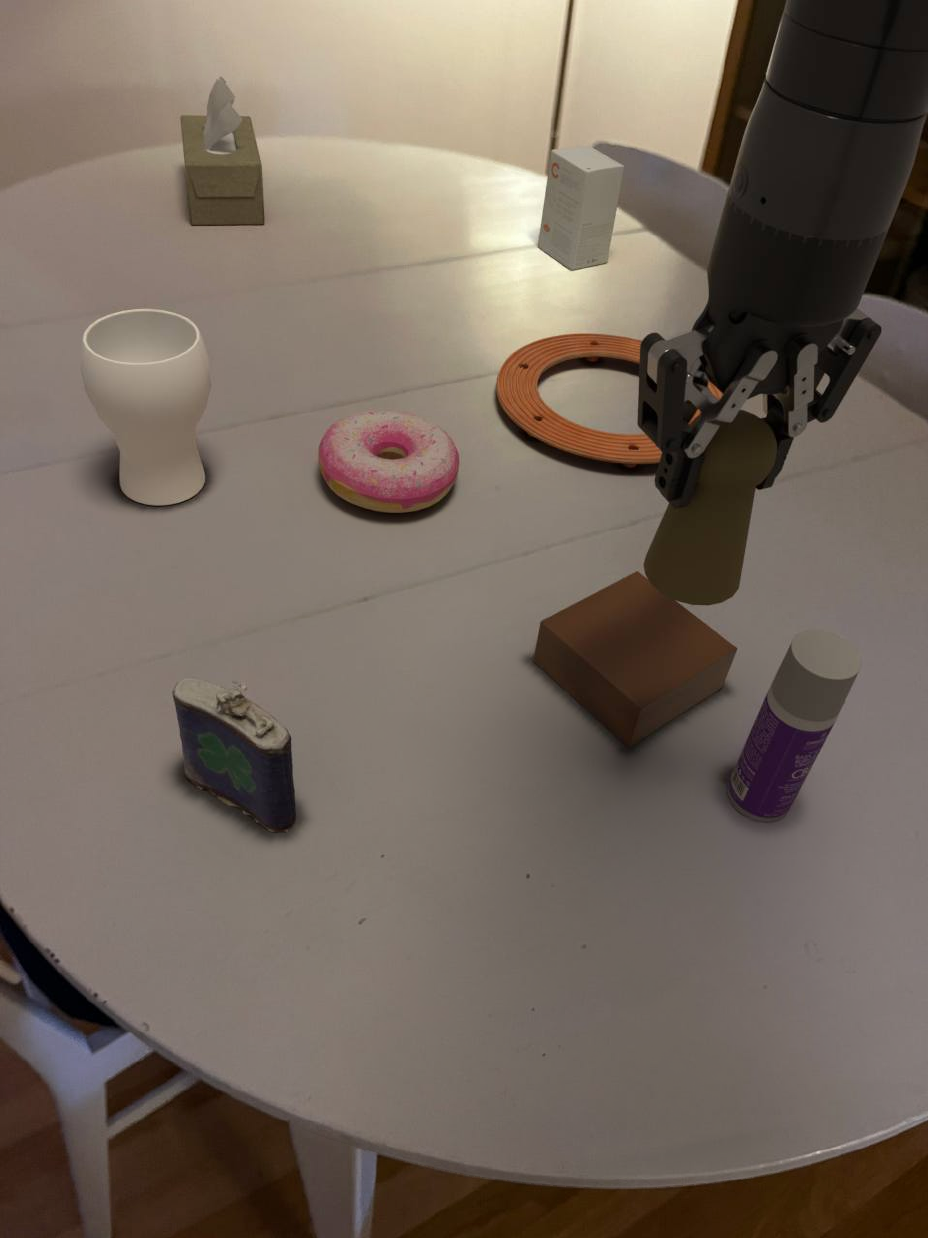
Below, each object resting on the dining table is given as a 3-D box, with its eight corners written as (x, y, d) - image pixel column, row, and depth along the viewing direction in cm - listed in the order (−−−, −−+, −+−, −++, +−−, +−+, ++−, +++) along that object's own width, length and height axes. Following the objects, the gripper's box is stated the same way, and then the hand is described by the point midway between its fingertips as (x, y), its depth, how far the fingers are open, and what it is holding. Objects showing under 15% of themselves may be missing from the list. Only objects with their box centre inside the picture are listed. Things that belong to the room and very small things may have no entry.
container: (777, 833, 73) (850, 692, 62) (717, 801, 74) (778, 658, 64) (799, 790, 76) (872, 649, 65) (740, 760, 77) (803, 617, 67)
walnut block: (722, 687, 83) (737, 648, 80) (628, 748, 77) (640, 708, 74) (626, 609, 88) (637, 570, 85) (532, 660, 83) (540, 621, 80)
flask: (177, 776, 72) (160, 672, 64) (206, 750, 74) (193, 645, 66) (281, 841, 69) (275, 738, 61) (308, 811, 71) (306, 709, 63)
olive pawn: (755, 601, 62) (810, 452, 54) (660, 609, 61) (702, 458, 53) (720, 537, 66) (767, 390, 58) (631, 543, 65) (666, 394, 57)
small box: (607, 263, 139) (626, 165, 130) (570, 271, 136) (586, 171, 127) (572, 239, 144) (588, 143, 135) (536, 246, 141) (549, 148, 132)
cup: (153, 436, 101) (132, 294, 90) (243, 471, 98) (232, 328, 88) (79, 491, 94) (46, 343, 83) (173, 530, 91) (152, 381, 80)
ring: (526, 483, 101) (529, 462, 99) (472, 353, 118) (474, 333, 116) (761, 470, 106) (768, 451, 104) (676, 347, 123) (681, 329, 122)
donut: (461, 527, 95) (466, 483, 91) (316, 523, 93) (315, 479, 90) (452, 444, 104) (456, 402, 101) (321, 440, 103) (320, 397, 99)
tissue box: (264, 226, 138) (258, 101, 127) (190, 226, 136) (178, 99, 125) (253, 172, 151) (247, 55, 140) (185, 172, 149) (173, 53, 138)
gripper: (730, 249, 42) (642, 556, 54) (983, 217, 47) (852, 505, 59) (637, 177, 47) (575, 474, 59) (876, 155, 52) (774, 433, 64)
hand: (714, 488), depth 59 cm, fingers closed on olive pawn, 5 cm apart
